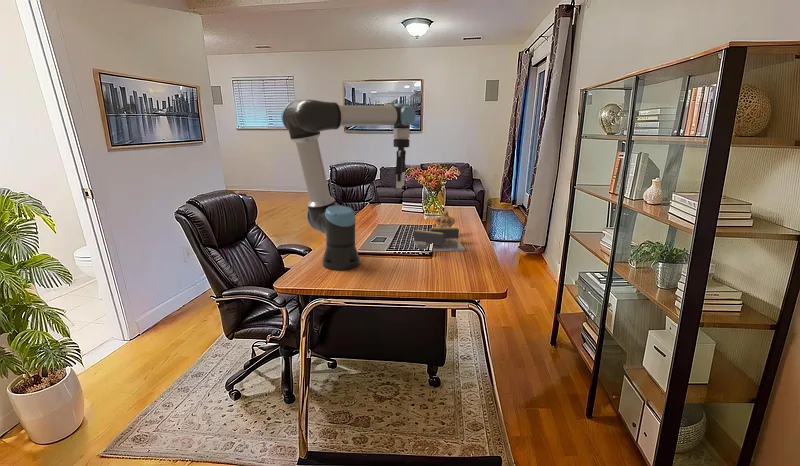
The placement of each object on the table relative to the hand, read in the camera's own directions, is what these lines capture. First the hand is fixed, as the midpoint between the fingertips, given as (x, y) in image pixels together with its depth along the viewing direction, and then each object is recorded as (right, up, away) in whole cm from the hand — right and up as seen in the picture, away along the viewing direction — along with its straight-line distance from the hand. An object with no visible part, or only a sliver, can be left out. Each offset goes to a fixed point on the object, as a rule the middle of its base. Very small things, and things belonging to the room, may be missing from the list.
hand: (400, 186), depth 181 cm
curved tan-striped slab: (+22, -26, +5) cm, 34 cm away
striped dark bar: (+14, -28, -2) cm, 31 cm away
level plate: (+18, -29, 0) cm, 34 cm away
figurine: (+23, -24, +19) cm, 38 cm away
